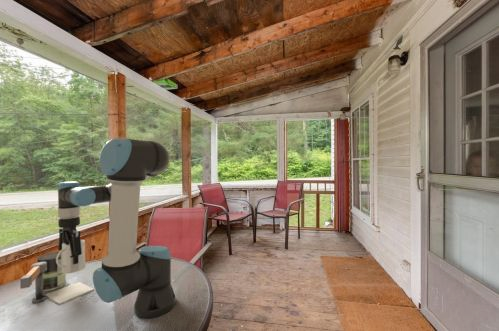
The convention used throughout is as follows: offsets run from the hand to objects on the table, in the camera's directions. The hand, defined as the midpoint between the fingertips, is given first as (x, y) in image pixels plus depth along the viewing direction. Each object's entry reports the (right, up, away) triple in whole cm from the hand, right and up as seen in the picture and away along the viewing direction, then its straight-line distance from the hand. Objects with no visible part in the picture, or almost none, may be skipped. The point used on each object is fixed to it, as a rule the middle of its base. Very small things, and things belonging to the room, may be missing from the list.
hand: (69, 268), depth 104 cm
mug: (0, -1, 0) cm, 1 cm away
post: (-9, -11, -5) cm, 15 cm away
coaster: (0, -11, 0) cm, 11 cm away
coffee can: (-13, -11, +7) cm, 18 cm away
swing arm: (-6, +1, -11) cm, 12 cm away
